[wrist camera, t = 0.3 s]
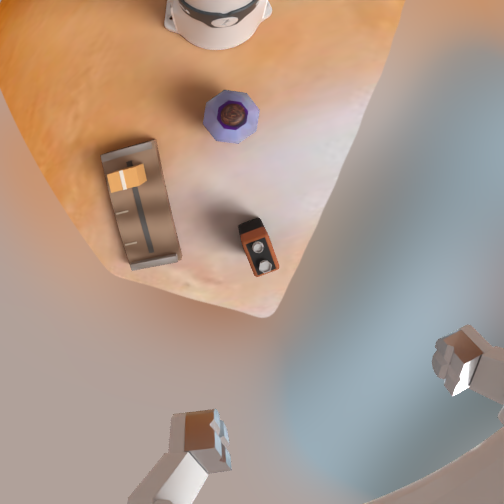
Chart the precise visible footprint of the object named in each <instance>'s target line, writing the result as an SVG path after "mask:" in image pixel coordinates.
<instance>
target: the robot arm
mask: <svg viewBox="0 0 504 504" xmlns="http://www.w3.org/2000/svg"><path fill="white" fill-rule="evenodd" d="M271 14H272V8H271V5H270V3H269V1H268V0H167V6H166V14H165V22H164V25H165V28H166V29H167V30H169V31H171V32H175V33H178V34H180V35H182V36H183V37H184V38H185V39H186V40H187V41H189V42H190V43H192V44H194V45H196V46H198V47H201V48H204V49H210V50H223V49H229V48H232V47H235V46H238V45H240V44H242V43H243V42H245V41H246V40H248V39H249V38H250V37H251V36H252V35H253V34H254V32H255V31H256V29H257V27H258V26H259V24H260V23H261V22H262V21H264V20H265V19H267V18H268V17H269V16H270V15H271ZM171 17H172V18H173V20H170V18H171ZM435 348H436V349H437V351H436V352H435V353H434V355H433V359H432V366H433V369H434V372H435V373H436V375H437V376H438V377H439V378H442V379H444V386H445V387H446V388H447V390H448V391H449V392H450V394H451V395H452V396H454V395H455V394H457V393H459V392H461V391H463V390H465V389H466V388H468V387H469V389H471V390H473V391H475V392H477V393H479V394H482V395H484V396H485V397H487V398H489V399H492V400H494V401H496V402H498V403H500V404H502V405H504V348H500V347H497V346H495V347H492V346H491V345H490V344H489V343H488V342H487V341H486V340H485V339H484V338H483V337H482V336H481V335H480V334H479V333H478V332H477V331H476V330H475V329H474V328H473V327H472V326H470V325H466V326H464V327H462V328H460V329H458V330H455V331H453V332H452V333H450V334H448V335H446V336H444V337H442V338H440V339H438V341H437V342H436V345H435ZM498 418H499V420H500V421H501V423H502V424H503V425H504V406H503V407H502V409H501V410H500V412H499V414H498ZM228 446H229V436H228V432H227V428H226V426H225V424H224V422H223V421H222V420H220V416H219V413H218V411H217V409H213V410H205V411H196V412H187V413H179V414H173V416H172V418H171V426H170V439H169V452H168V453H165V454H164V455H163V456H162V457H161V459H160V460H159V461H158V462H157V464H156V465H155V466H154V467H153V468H152V470H151V471H150V472H149V473H148V475H147V476H146V477H145V478H144V479H143V481H142V482H141V483H140V484H139V486H138V487H137V488H136V489H135V490H134V491H133V493H132V494H131V495H130V496H129V497H128V504H192V503H193V501H194V499H195V498H196V496H197V494H198V492H199V491H200V489H201V487H202V485H203V484H204V482H205V480H206V478H207V476H208V473H217V472H224V471H230V470H232V469H231V457H230V454H229V452H228V450H227V447H228ZM364 504H504V427H502V428H501V429H500V430H498V431H497V432H496V433H494V434H493V435H492V436H490V437H489V438H487V439H486V440H485V441H484V442H482V443H480V444H479V445H478V446H476V447H475V448H473V449H472V450H470V451H468V452H467V453H465V454H464V455H462V456H461V457H459V458H457V459H456V460H454V461H452V462H451V463H449V464H448V465H446V466H444V467H442V468H441V469H439V470H437V471H435V472H433V473H431V474H430V475H428V476H426V477H424V478H422V479H420V480H418V481H416V482H414V483H412V484H410V485H407V486H405V487H403V488H401V489H399V490H396V491H394V492H392V493H390V494H387V495H385V496H382V497H380V498H377V499H374V500H372V501H369V502H367V503H364Z"/></svg>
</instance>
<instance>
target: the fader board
mask: <svg viewBox="0 0 504 504" xmlns="http://www.w3.org/2000/svg"><path fill="white" fill-rule="evenodd" d="M101 160H102V165H103V169H104V174H105V178H106V182H107V186H108V190H109V194H110V198H111V202H112V206H113V210H114V214H115V217H116V221H117V224H118V228H119V231H120V235H121V238H122V241H123V245H124V248H125V251H126V254H127V257H128V261H129V264H130V267H131V270H132V271H133V270H138V269H144V268H149V267H154V266H160V265H165V264H171V263H176V262H178V260H181V259H182V253H181V249H180V245H179V241H178V237H177V233H176V229H175V225H174V221H173V217H172V212H171V208H170V204H169V199H168V195H167V190H166V186H165V181H164V176H163V172H162V167H161V162H160V157H159V152H158V147H157V142H156V140H151V141H147V142H143V143H140V144H136V145H132V146H129V147H125V148H122V149H118V150H115V151H111V152H108V153H105V154H102V155H101ZM139 164H144V169H145V174H146V178H147V181H145V182H144V183H143V184H141V185H140V186H136V187H132V188H128V189H126V190H121V191H117V192H113V193H111V190H110V186H109V182H108V178H107V175H108V174H110V173H112V172H114V171H117V170H120V169H124V168H128V167H131V166H135V165H139Z"/></svg>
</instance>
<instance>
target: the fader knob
mask: <svg viewBox="0 0 504 504" xmlns="http://www.w3.org/2000/svg"><path fill="white" fill-rule="evenodd" d="M107 178H108V182H109V186H110V190H111V193H113V192H117V191H121V190H126V189H128V188H132V187H136V186H140V185H141V184H143V183H144V182H145V181H147V178H146V174H145V169H144V164H139V165H135V166H131V167H128V168H124V169H120V170H117V171H114V172H112V173H110V174H108V175H107Z"/></svg>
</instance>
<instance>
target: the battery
mask: <svg viewBox="0 0 504 504" xmlns="http://www.w3.org/2000/svg"><path fill="white" fill-rule="evenodd" d="M238 228H239V233H240V237H241V242H242V246H243V248H244V251H245V253H246V256H247V258H248V261H249V263H250V266H251V268H252V271H253V273H254V275H255V276H256V277H259V276H262V275H264V274H267V273H270V272H272V271H275V270H278V269H279V264H278V261H277V258H276V255H275V252H274V249H273V247H272V244H271V241H270V238H269V236H268V233H267V231H266V229H265V227H264V225H263V223H262V221H261V219H260V218H256V219H254V220H251V221H248V222H246V223H243V224H240V225H239V226H238Z"/></svg>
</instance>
